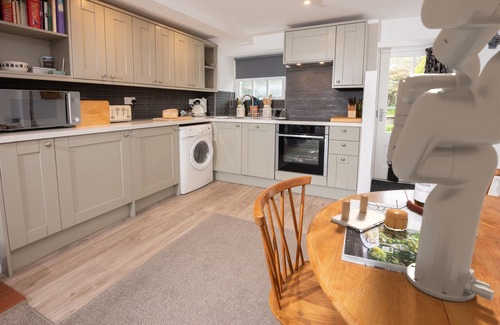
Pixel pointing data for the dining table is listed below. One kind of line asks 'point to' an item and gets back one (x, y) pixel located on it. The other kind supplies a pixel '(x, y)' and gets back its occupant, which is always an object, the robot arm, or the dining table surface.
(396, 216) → the wooden faceted cylinder
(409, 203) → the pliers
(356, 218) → the plate
